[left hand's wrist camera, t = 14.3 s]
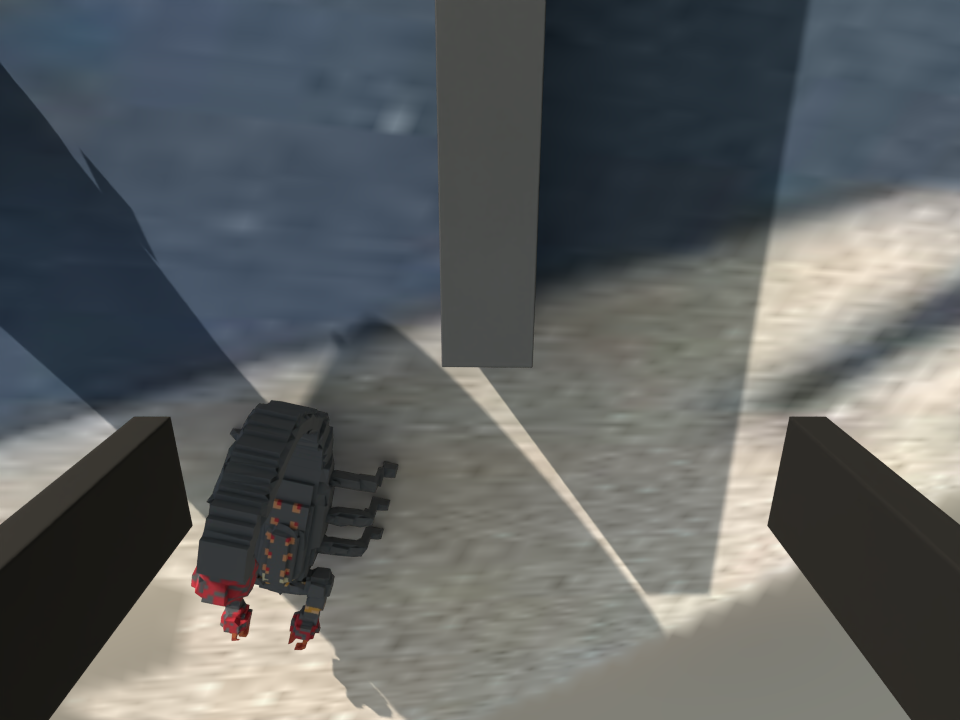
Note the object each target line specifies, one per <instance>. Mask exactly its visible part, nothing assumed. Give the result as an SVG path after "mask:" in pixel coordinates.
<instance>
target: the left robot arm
mask: <svg viewBox="0 0 960 720" xmlns="http://www.w3.org/2000/svg"><path fill="white" fill-rule="evenodd" d="M192 526H193V525H192V520H191V515H190V511H189V506H188V501H187V496H186V491H185V486H184V481H183V476H182V471H181V466H180V462H179V457H178V452H177V447H176V442H175V437H174V432H173V427H172V422H171V417H133V418H132V419H131V420H130V421H128V422H127V423H126V424H125V425H123V426H122V427H121V428H120V429H118V430H117V431H116V432H115V433H113V434H112V435H111V436H110V437H108V438H107V439H106V440H105V441H104V442H102V443H101V444H100V445H99V446H97V447H96V448H95V449H94V450H92V451H91V452H90V453H89V454H87V455H86V456H85V457H84V458H82V459H81V460H80V461H79V462H77V463H76V464H75V465H74V466H73V467H71V468H70V469H69V470H68V471H66V472H65V473H64V474H63V475H61V476H60V477H59V478H58V479H56V480H55V481H54V482H53V483H51V484H50V485H49V486H48V487H46V488H45V489H44V490H43V491H42V492H40V493H39V494H38V495H37V496H35V497H34V498H33V499H32V500H30V501H29V502H28V503H27V504H25V505H24V506H23V507H22V508H20V509H19V510H18V511H17V512H15V513H14V514H13V515H12V516H11V517H9V518H8V519H7V520H6V521H4V522H3V523H2V524H1V525H0V720H49V719H50V717H51V716H52V715H53V713H54V712H55V711H56V709H57V708H58V707H59V705H60V704H61V703H62V701H63V700H64V699H65V697H66V696H67V694H68V693H69V692H70V690H71V689H72V688H73V686H74V685H75V684H76V682H77V681H78V680H79V678H80V677H81V676H82V674H83V673H84V672H85V670H86V669H87V667H88V666H89V665H90V663H91V662H92V661H93V659H94V658H95V657H96V655H97V654H98V653H99V651H100V650H101V649H102V647H103V646H104V644H105V643H106V642H107V641H108V639H109V638H110V636H111V635H112V634H113V632H114V631H115V630H116V628H117V627H118V626H119V624H120V623H121V622H122V620H123V619H124V618H125V616H126V615H127V613H128V612H129V611H130V609H131V608H132V607H133V605H134V604H135V603H136V601H137V600H138V599H139V597H140V596H141V595H142V593H143V592H144V591H145V589H146V588H147V586H148V585H149V584H150V582H151V581H152V580H153V578H154V577H155V576H156V574H157V573H158V572H159V570H160V569H161V568H162V566H163V565H164V564H165V562H166V561H167V560H168V558H169V557H170V555H171V554H172V553H173V551H174V550H175V549H176V547H177V546H178V545H179V543H180V542H181V541H182V539H183V538H184V537H185V535H186V534H187V533H188V531H189V530H190V528H191V527H192ZM767 526H768V527H769V528H770V530H771V531H772V533H773V534H774V535H775V537H776V538H777V539H778V541H779V542H780V543H781V545H782V546H783V547H784V549H785V550H786V551H787V553H788V554H789V555H790V557H791V558H792V560H793V561H794V562H795V564H796V565H797V566H798V568H799V569H800V570H801V572H802V573H803V574H804V576H805V577H806V578H807V580H808V581H809V582H810V584H811V585H812V587H813V588H814V589H815V591H816V592H817V593H818V594H819V596H820V597H821V599H822V600H823V601H824V603H825V604H826V605H827V607H828V608H829V609H830V611H831V612H832V613H833V615H834V616H835V618H836V619H837V620H838V622H839V623H840V624H841V626H842V627H843V628H844V630H845V631H846V632H847V634H848V635H849V636H850V638H851V639H852V641H853V642H854V643H855V645H856V646H857V647H858V649H859V650H860V651H861V653H862V654H863V655H864V657H865V658H866V659H867V661H868V662H869V663H870V665H871V666H872V667H873V669H874V670H875V672H876V673H877V674H878V676H879V677H880V678H881V680H882V681H883V682H884V684H885V685H886V686H887V688H888V689H889V690H890V692H891V693H892V694H893V696H894V697H895V698H896V700H897V701H898V702H899V704H900V705H901V707H902V708H903V709H904V711H905V712H906V713H907V715H908V716H909V717H910V719H911V720H960V525H959V524H958V523H957V522H956V521H954V520H953V519H952V518H951V517H949V516H948V515H947V514H946V513H945V512H943V511H942V510H941V509H940V508H938V507H937V506H936V505H935V504H933V503H932V502H931V501H930V500H928V499H927V498H926V497H925V496H923V495H922V494H921V493H920V492H918V491H917V490H916V489H915V488H914V487H912V486H911V485H910V484H909V483H907V482H906V481H905V480H904V479H902V478H901V477H900V476H899V475H897V474H896V473H895V472H894V471H892V470H891V469H890V468H889V467H887V466H886V465H885V464H884V463H883V462H881V461H880V460H879V459H878V458H876V457H875V456H874V455H873V454H871V453H870V452H869V451H868V450H866V449H865V448H864V447H863V446H861V445H860V444H859V443H858V442H856V441H855V440H854V439H853V438H852V437H850V436H849V435H848V434H847V433H845V432H844V431H843V430H842V429H840V428H839V427H838V426H837V425H835V424H834V423H833V422H832V421H830V420H829V419H828V418H827V417H789V422H788V427H787V432H786V437H785V442H784V447H783V452H782V457H781V461H780V466H779V471H778V476H777V481H776V486H775V491H774V496H773V501H772V506H771V511H770V515H769V520H768V525H767Z"/></svg>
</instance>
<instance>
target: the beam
mask: <svg viewBox="0 0 960 720" xmlns="http://www.w3.org/2000/svg"><path fill="white" fill-rule="evenodd" d="M545 21H546V0H435V25H436V77H437V130H438V183H439V236H440V289H441V342H442V367H527V368H531V367H533V342H534V315H535V288H536V262H537V235H538V208H539V182H540V155H541V128H542V101H543V75H544V48H545Z"/></svg>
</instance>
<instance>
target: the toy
mask: <svg viewBox="0 0 960 720" xmlns="http://www.w3.org/2000/svg"><path fill="white" fill-rule="evenodd" d="M230 434H231V435H232V437H233V438H234V439H235V440H236V441H235V442H234V443H233V445H232V446H231V447H230V448H229V451H228V454H227V457H226V460H225V463H224V466H223V468H222V471H221V473H220V476H219V479H218V481H217V483H216V485H215V488H214V491H213V494H212V495H211V497H210V498H209V499H208V501H207V502H208V503H210V509H209V515H208V517H207V518H206V523H205V529H204V532H203V535H202V537H201V539H200V540H199V549H198V559H197V566H196V568H195V570H194V572H193V574H192V583H191V586H192V587H194V588H195V593H196V594H197V595H199V596H200V597H201V598H202V601H201V602H204V603H209V604H214V605H219V606H225V607H226V608H225V610H224V612H223V614H222V616H221V623H220V625H221V626H222V627H223V629H224V632H229V633H231V634H232V641H236V640H240V639H237V635H239V637H246V636H247V635H248V632H249V626H250V619H251V615H252V610H253V609H249V605H248V604H246V603H245V601H244V599H243V597H246V596H248V595H249V593H250V592H251V590H252V589H253V586H254V584H256V585H259V587H260V588H264V589H268V590H270V591H274V592H277V593H279V594H280V595H281V594H282V593H289V594H297V595H307V601H306V605H304V606H303V607H302V609H301V610H300V611H298V612H295V613H294V615H293V618H292V620H291V626H290V631H291V634H290V638H289V643H288V644H290V643H292V642H293V641H294V640H295V639H301V640H303V643H297V644H296V647H295V649H294V650H303V649H305V648H306V645H307V642H308V641H309V640H310V639H313V638H314V635H315V633H319V631H320V623H319V616H320V610H323V609H324V606H325V603H326V598H327V597H328V596H330V593H331V590H332V587H333V583H334V577H335V576H334V575H333V574H332V572H331V570H330V569H329V568H321V567H317V568H315V569H313V570H311V569H310V568H311V566H313V563H314V561H315V559H316V556H317V554H318V553H323V554H330V555H339V556H351V557H359V556H362V555H363V553H364V552H365V551H366V549H367V547H368V544H369V541H370V539H381V537H382V534H383V529H381V528H375V527H366V529H365V531H364V533H363V536H362V538H360V539H358V540H350V539H341V538H336V537H328V536H326V535H325V533H326V530H327V526H328V523H330V524H334V525H338V526H346V525H351V526H357V527H364V526H370V525H372V524H373V521H374V517H375V514H376V511H377V510H388V507H389V503H390V500H386V499H381V498H376V497H373V498H372V501H371V504H370V507H369V509H367V508H365V510H364V511H363V510H359V509H352V508H344V507H332V508H331V505H332V499H333V493H334V487H335V486H336V487H342V488H348V489H354V490H360V491H367V492H376V489H377V486H380V487H381V484H382V480H383V478H384V477H388V478H395V476H396V472H397V468H398V465H397V464H393V463H388V462H384V464H383V468H378V471H377V474H376V476H371V475H365V474H354V473H349V472H344V471H339V470H336V471H334V460H333V452H332V447H333V427H330V426H329V417H328V413H325V412H321V411H317V409H313V408H309V407H304V406H300V405H295V404H291V403H287V402H282V401H273V400H271V401H270V403H268V404H261V403H259V404H258V406H257V407H256V408H255V409H253V410H252V412H251V413H250V415H249V416H248V418H247V420H246V422H245V424H244V426H243V428H242V430H239V429H234V428H233V429H232V431H231V433H230Z"/></svg>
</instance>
